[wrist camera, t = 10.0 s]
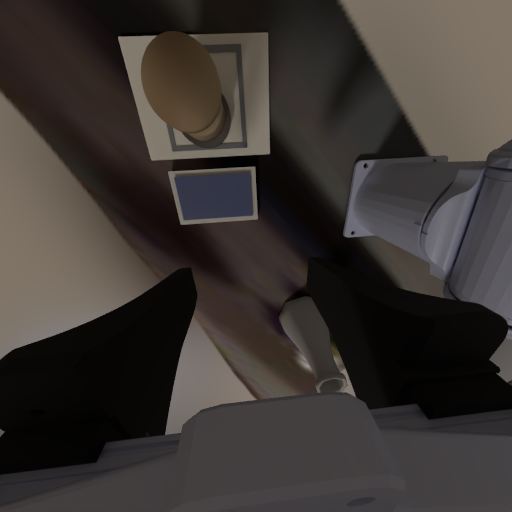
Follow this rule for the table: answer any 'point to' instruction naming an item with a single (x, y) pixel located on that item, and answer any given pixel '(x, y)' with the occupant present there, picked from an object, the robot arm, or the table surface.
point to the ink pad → (215, 194)
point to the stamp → (185, 88)
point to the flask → (312, 342)
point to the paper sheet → (232, 87)
